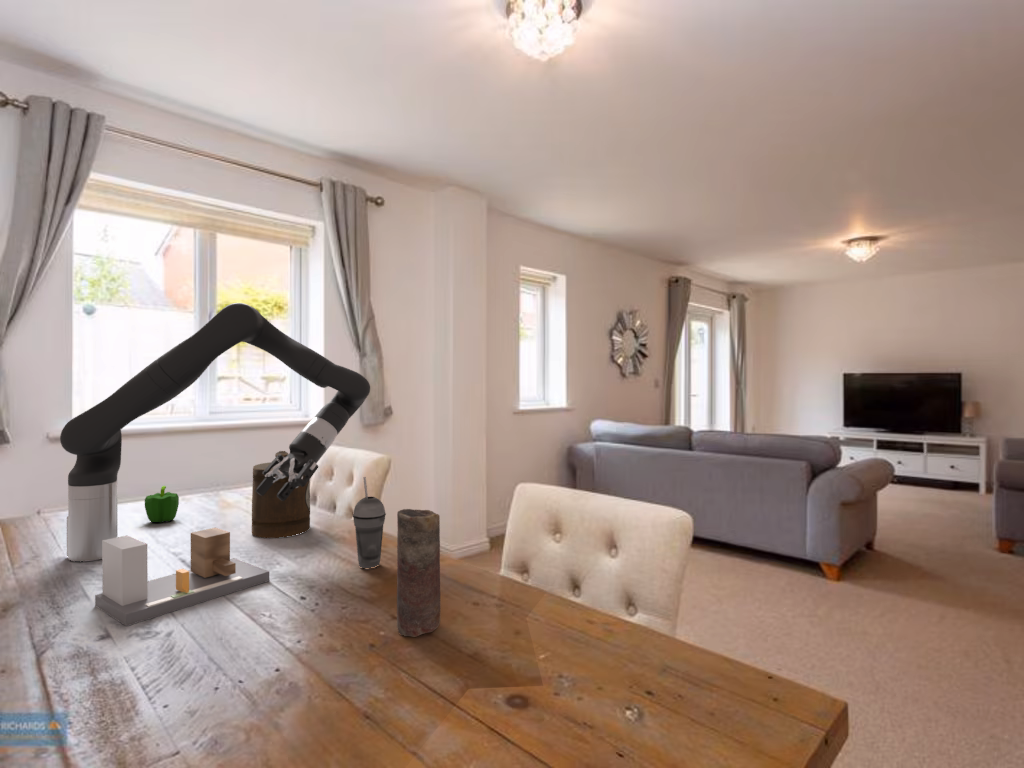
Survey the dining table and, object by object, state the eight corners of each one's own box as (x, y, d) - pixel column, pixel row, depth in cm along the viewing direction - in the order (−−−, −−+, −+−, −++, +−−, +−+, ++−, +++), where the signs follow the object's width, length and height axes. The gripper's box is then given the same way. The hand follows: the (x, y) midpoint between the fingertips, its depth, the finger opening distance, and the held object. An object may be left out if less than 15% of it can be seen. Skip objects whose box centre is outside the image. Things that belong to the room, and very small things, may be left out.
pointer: (182, 587, 106) (182, 568, 106) (193, 592, 103) (193, 573, 103) (175, 589, 105) (175, 570, 105) (186, 594, 103) (186, 575, 102)
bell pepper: (167, 525, 158) (167, 490, 157) (138, 525, 158) (138, 489, 158) (185, 517, 166) (185, 484, 166) (158, 517, 166) (157, 484, 166)
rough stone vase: (399, 619, 98) (399, 506, 98) (441, 618, 99) (442, 505, 98) (394, 639, 90) (394, 517, 90) (439, 638, 91) (440, 516, 91)
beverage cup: (377, 572, 121) (377, 481, 121) (346, 570, 122) (346, 479, 122) (391, 561, 128) (391, 475, 128) (361, 559, 129) (361, 473, 129)
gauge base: (234, 567, 124) (234, 513, 124) (269, 580, 116) (269, 523, 116) (95, 605, 103) (94, 541, 103) (126, 626, 95) (126, 555, 94)
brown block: (215, 564, 118) (215, 527, 118) (242, 575, 112) (242, 536, 112) (190, 571, 114) (190, 532, 114) (217, 583, 108) (217, 542, 108)
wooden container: (321, 528, 155) (321, 450, 155) (273, 542, 143) (273, 456, 142) (288, 521, 163) (288, 446, 163) (240, 533, 151) (240, 451, 150)
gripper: (287, 428, 136) (240, 482, 127) (322, 432, 128) (276, 490, 119) (306, 448, 140) (262, 501, 131) (341, 453, 132) (298, 510, 123)
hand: (269, 496), depth 125 cm, fingers open, 8 cm apart
